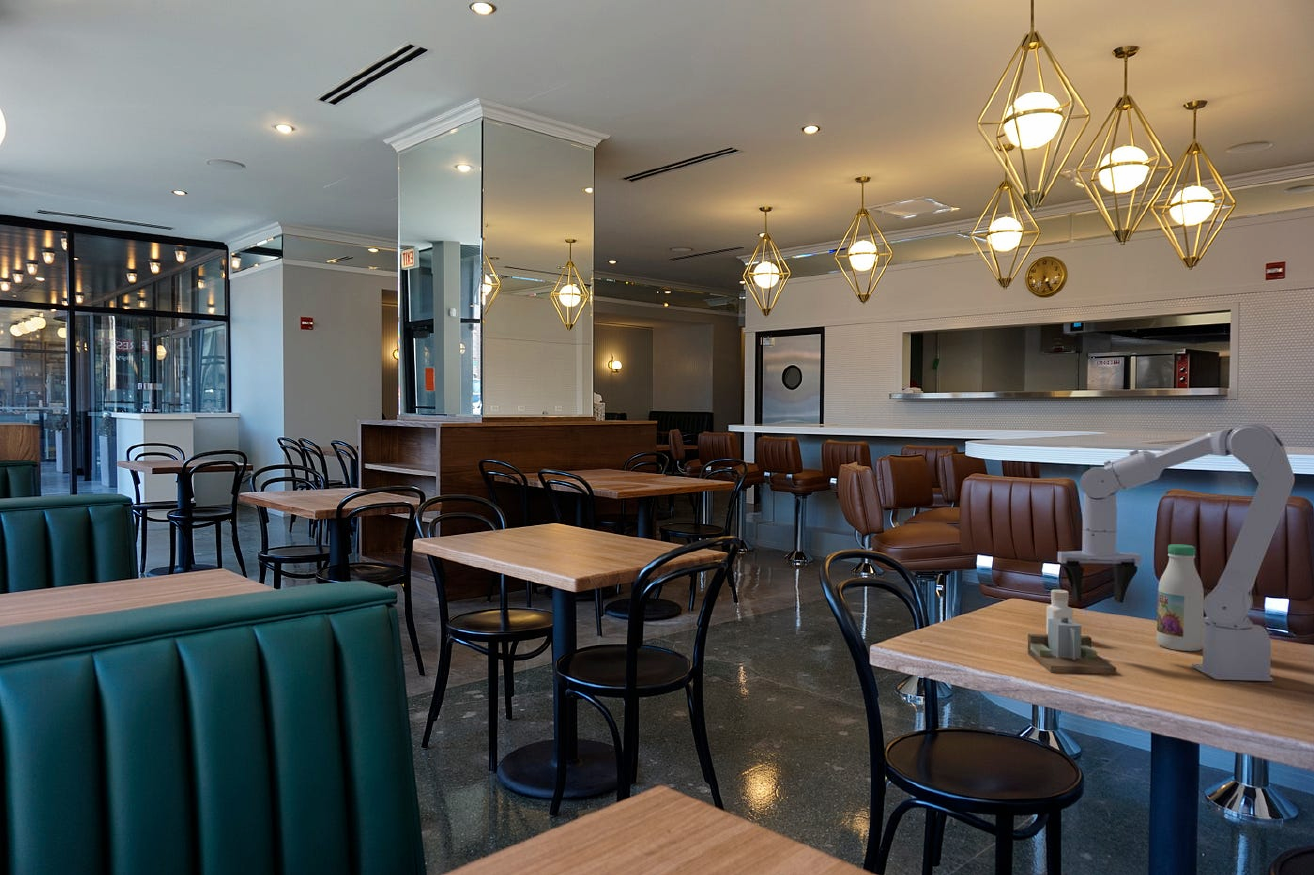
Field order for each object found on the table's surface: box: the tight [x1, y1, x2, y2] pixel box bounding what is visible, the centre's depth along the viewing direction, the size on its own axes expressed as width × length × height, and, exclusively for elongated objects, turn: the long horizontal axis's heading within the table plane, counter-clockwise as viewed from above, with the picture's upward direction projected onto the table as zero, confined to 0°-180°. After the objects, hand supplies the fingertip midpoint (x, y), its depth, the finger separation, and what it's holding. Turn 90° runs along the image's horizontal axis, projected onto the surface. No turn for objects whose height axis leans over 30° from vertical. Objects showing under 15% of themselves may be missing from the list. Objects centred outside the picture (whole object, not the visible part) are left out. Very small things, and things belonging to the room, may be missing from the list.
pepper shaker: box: [1045, 589, 1074, 635], centre depth 175 cm, size 4×4×10 cm
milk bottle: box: [1156, 543, 1205, 652], centre depth 168 cm, size 8×8×20 cm
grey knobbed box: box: [1048, 617, 1082, 660], centre depth 157 cm, size 4×7×7 cm, turn 175°
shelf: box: [1027, 633, 1117, 675], centre depth 157 cm, size 11×12×4 cm
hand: (1098, 601), depth 164 cm, fingers open, 7 cm apart
